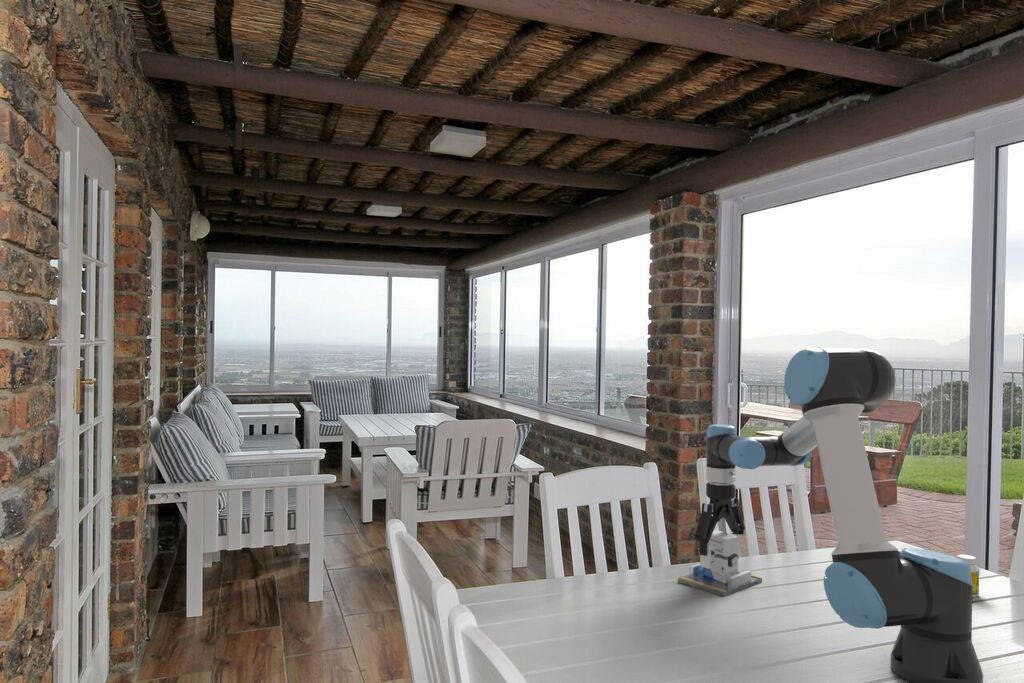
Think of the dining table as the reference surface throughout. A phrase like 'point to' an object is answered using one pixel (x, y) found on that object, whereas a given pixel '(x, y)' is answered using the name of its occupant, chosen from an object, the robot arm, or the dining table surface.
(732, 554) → the ink box
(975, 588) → the supplement bottle
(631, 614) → the dining table surface
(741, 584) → the grey tray
